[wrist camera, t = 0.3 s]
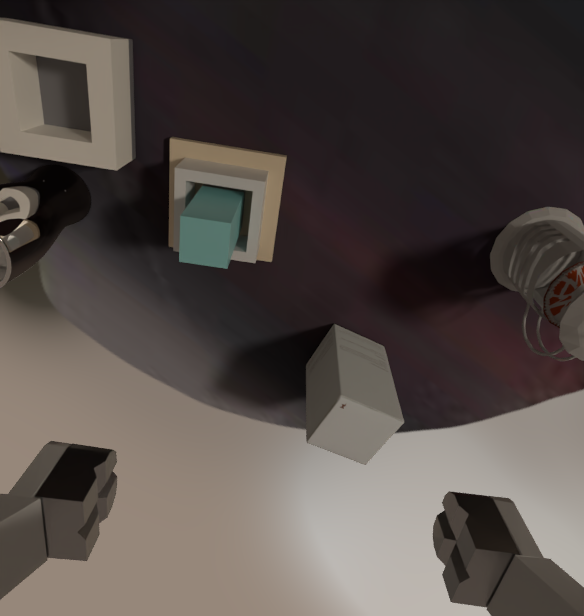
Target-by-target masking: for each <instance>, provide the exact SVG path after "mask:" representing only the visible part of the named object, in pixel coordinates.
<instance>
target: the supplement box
mask: <svg viewBox="0 0 584 616" xmlns="http://www.w3.org/2000/svg"><path fill="white" fill-rule="evenodd" d="M403 423H404V420H403V416H402V413H401V409H400V405H399V401H398V397H397V394H396V390H395V386H394V382H393V378H392V374H391V371H390V367H389V363H388V359H387V355H386V352H385V348H384V346H382V345H380V344H378V343H376V342H373V341H371V340H369V339H367V338H365V337H362V336H360V335H358V334H356V333H354V332H351V331H349V330H347V329H345V328H343V327H340V326H338V325H336V324H334V325H333V326H332V327H331V329H330V330H329V332H328V333H327V335H326V336H325V338H324V339H323V341H322V342H321V344H320V345H319V346H318V348H317V349H316V351H315V352H314V354H313V355H312V357H311V358H310V360H309V361H308V363H307V364H306V433H307V435H306V437H307V443H309V444H312V445H315V446H317V447H320V448H323V449H325V450H328V451H330V452H333V453H336V454H338V455H341V456H344V457H346V458H349V459H351V460H354V461H356V462H359V463H361V464H364V465H366V464H367V462H368V461H369V460H370V459H371V458H372V457H373V456H374V455H375V454H376V452H377V451H378V450H379V449H380V448H381V447H382V446H383V445H384V444H385V442H386V441H387V440H388V439H389V438H390V437H391V436H392V435H393V434H394V433H395V432H396V431H397V430H398V429H399V427H400V426H401V425H402V424H403Z"/></svg>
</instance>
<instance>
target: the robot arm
mask: <svg viewBox="0 0 584 616" xmlns="http://www.w3.org/2000/svg"><path fill="white" fill-rule="evenodd" d="M116 460H117V459H116V451H114V450H111V449H104V448H98V447H91V446H84V445H78V444H68V443H62V442H55V441H50V442H49V443H47V444H46V445H45V446H44V447H43V449H42V450H41V451H40V452H39V454H38V455H37V456H36V458H35V459H34V460H33V462H32V463H31V464H30V466H29V467H28V468H27V470H26V471H25V473H24V474H23V475H22V476H21V478H20V479H19V480H18V482H17V483H16V484H15V486H14V487H13V488H12V490H11V491H10V492H9V494H0V599H2V598H3V597H4V596H5V595H6V594H8V592H10V591H11V590H12V589H13V588H15V587H16V586H17V585H18V584H19V583H21V582H22V581H23V580H24V579H25V578H26V577H28V576H29V575H30V574H31V573H33V572H34V571H35V570H36V569H37V568H39V567H40V566H41V565H42V564H43V563H45V562H46V561H47V558H57V559H70V560H83V561H87V560H88V557H89V555H90V553H91V551H92V549H93V547H94V545H95V542H96V540H97V538H98V536H99V523H100V522H101V521H103V520H104V519H106V518H107V517H108V514H109V512H110V510H111V507H112V505H113V501H114V498H115V495H116V488H117V476H116V475H115V473H114V472H113V469H114V467H115V465H116V462H117V461H116ZM442 503H443V506H444V509H445V510H444V511H443V512H442V513H440V514H439V515H437V517H436V520H435V523H434V526H433V541H434V548H435V551H436V555H437V557H438V558H439V559H440V560H441V561H442V562H443V563H444V565H445V566H446V567H445V570H444V571H443V574H442V575H443V578H444V581H445V584H446V588H447V591H448V594H449V598H450V601H451V602H453V603H460V604H468V605H474V606H481V607H487V610H488V612H489V613H490V614H491V616H584V587H582V586H581V585H580V584H579V583H578V582H576V581H575V580H574V579H573V578H572V577H571V576H569V575H568V574H567V573H566V572H565V571H564V570H562V569H561V568H560V567H559V566H558V565H557V564H555V563H554V562H553V561H552V560H551V559H546V558H543V556H542V554H541V552H540V550H539V548H538V546H537V545H536V543H535V541H534V539H533V537H532V535H531V534H530V532H529V530H528V528H527V526H526V524H525V523H524V521H523V519H522V517H521V515H520V513H519V512H518V510H517V508H516V506H515V504H514V502H513V501H511V500H510V499H509V498H501V497H493V496H483V495H475V494H466V493H457V492H448V493H447V494H446V495H445V497H444V499H443V502H442Z"/></svg>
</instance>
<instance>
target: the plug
mask: <svg viewBox="0 0 584 616" xmlns="http://www.w3.org/2000/svg"><path fill="white" fill-rule="evenodd" d="M245 193H246V190H241V189H235V188H229V187H222V186H216V185H210V184H203V185H202V187H201V188H200V189H199V191H198V192H197V194H196V195H195V196H194V198H193V199H192V200H191V202H190V203H189V205H188V206H187V207H186V209H185V210H184V211H183V213H182V214H181V215H180V248H179V262H186V263H192V264H199V265H206V266H212V267H219V268H226V269H227V268H228V265H229V262H230V259H231V256H232V254H233V251H234V248H235V245H236V242H237V239H238V237H239V234H240V231H241V228H242V223H243V213H244V203H245Z"/></svg>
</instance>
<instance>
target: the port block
mask: <svg viewBox="0 0 584 616" xmlns="http://www.w3.org/2000/svg"><path fill="white" fill-rule="evenodd" d="M0 152H4V153H10V154H16V155H23V156H29V157H35V158H42V159H48V160H54V161H60V162H67V163H73V164H79V165H86V166H92V167H98V168H105V169H111V170H118V169H120V168H121V167H123V166H124V165H126V164H127V163H129V162H130V161H132V160H133V159H135V158H136V150H135V113H134V77H133V40H132V39H128V38H122V37H116V36H110V35H105V34H99V33H93V32H87V31H82V30H76V29H70V28H64V27H59V26H53V25H47V24H41V23H36V22H30V21H24V20H18V19H11V18H0Z"/></svg>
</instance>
